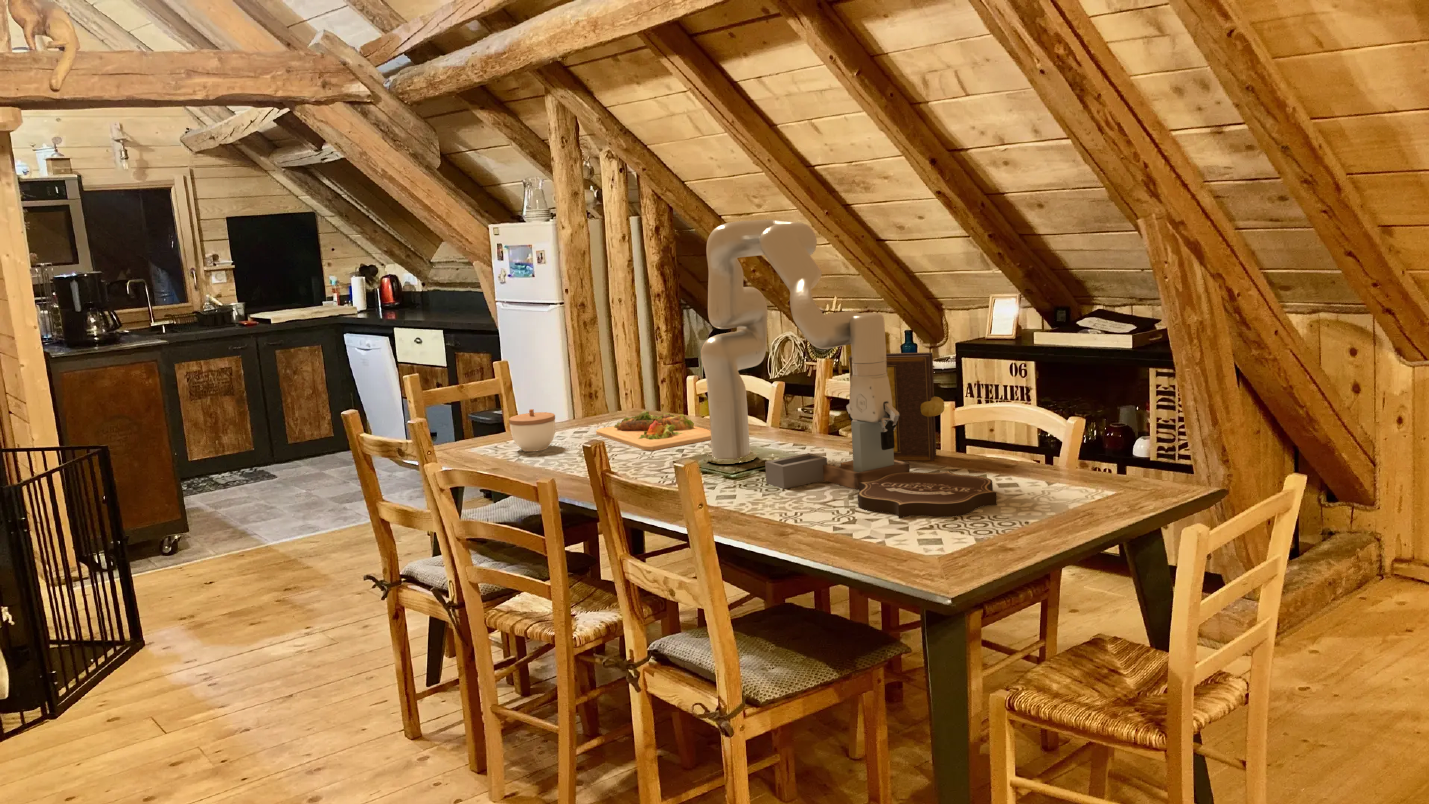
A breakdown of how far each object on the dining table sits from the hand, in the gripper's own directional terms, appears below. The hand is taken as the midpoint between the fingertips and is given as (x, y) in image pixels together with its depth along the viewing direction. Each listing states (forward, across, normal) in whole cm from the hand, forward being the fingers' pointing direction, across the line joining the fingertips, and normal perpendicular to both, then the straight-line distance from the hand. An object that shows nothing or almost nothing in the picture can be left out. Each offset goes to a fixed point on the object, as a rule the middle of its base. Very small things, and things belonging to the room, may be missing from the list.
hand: (874, 446), depth 257 cm
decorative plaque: (+9, +19, -2) cm, 21 cm away
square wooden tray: (+8, -3, 0) cm, 9 cm away
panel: (+8, 0, 0) cm, 8 cm away
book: (+8, -15, +19) cm, 25 cm away
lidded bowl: (+7, -98, -42) cm, 107 cm away
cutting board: (+8, -88, -10) cm, 88 cm away
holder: (+8, -13, -12) cm, 20 cm away
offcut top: (+6, -5, 0) cm, 8 cm away
